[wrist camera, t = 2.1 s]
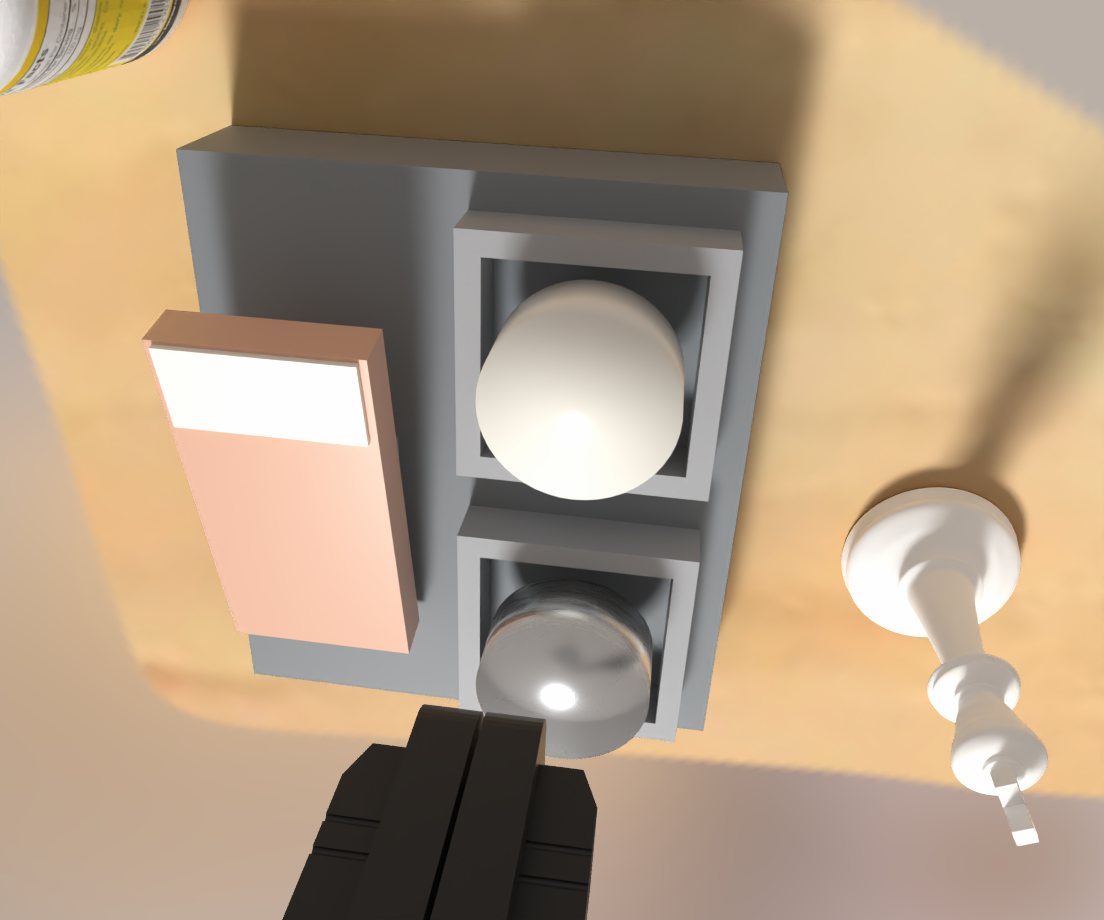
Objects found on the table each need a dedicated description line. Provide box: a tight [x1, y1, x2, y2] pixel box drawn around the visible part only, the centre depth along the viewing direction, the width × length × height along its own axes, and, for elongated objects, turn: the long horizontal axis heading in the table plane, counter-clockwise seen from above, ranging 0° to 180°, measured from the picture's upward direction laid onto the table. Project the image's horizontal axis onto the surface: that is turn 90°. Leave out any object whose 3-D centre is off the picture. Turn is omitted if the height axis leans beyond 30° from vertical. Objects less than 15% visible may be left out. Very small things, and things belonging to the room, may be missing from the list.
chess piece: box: [841, 487, 1048, 846], centre depth 24 cm, size 5×5×10 cm
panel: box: [176, 125, 788, 742], centre depth 26 cm, size 14×16×4 cm
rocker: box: [142, 310, 419, 654], centre depth 24 cm, size 5×10×1 cm, turn 178°
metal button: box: [476, 577, 653, 759], centre depth 25 cm, size 4×4×2 cm
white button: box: [475, 280, 685, 500], centre depth 21 cm, size 4×4×2 cm
